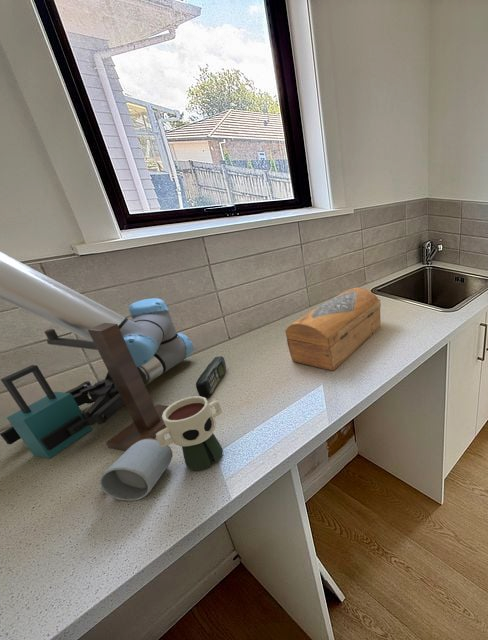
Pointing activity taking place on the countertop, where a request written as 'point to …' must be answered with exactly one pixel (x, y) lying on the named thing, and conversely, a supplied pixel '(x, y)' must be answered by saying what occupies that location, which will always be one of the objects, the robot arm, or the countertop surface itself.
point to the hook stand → (121, 383)
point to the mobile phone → (211, 377)
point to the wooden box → (334, 329)
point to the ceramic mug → (136, 470)
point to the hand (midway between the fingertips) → (24, 442)
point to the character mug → (192, 430)
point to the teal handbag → (42, 414)
